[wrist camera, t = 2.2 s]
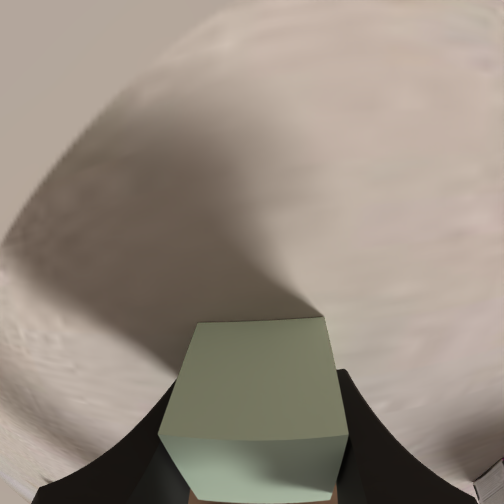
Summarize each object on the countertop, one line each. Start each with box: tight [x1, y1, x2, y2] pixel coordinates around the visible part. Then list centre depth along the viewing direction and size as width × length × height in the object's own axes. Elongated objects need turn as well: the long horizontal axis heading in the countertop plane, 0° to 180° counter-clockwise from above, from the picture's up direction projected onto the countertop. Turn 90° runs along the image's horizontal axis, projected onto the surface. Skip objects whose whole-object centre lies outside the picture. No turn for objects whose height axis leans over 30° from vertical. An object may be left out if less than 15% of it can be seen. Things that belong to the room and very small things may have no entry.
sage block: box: [158, 317, 349, 504], centre depth 9 cm, size 4×4×5 cm
